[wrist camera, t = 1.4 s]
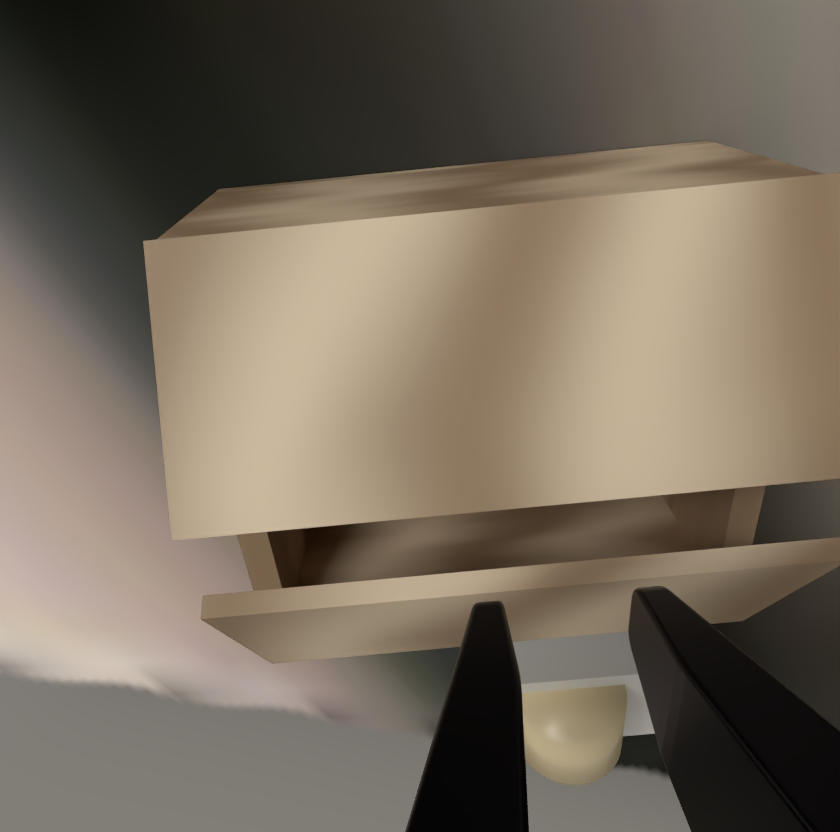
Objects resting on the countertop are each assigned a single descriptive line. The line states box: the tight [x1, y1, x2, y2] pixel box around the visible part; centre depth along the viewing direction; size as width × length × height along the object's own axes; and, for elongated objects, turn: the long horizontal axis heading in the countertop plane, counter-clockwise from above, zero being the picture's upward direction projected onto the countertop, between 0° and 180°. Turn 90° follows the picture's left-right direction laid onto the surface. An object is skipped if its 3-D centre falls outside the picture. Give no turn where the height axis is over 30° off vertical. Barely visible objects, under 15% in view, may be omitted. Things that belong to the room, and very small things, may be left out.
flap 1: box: [143, 173, 840, 541], centre depth 13 cm, size 14×6×1 cm, turn 95°
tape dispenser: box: [513, 631, 655, 785], centre depth 25 cm, size 9×4×6 cm, turn 94°
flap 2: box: [201, 537, 840, 664], centre depth 16 cm, size 14×6×1 cm
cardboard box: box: [157, 141, 821, 591], centre depth 19 cm, size 14×12×6 cm
